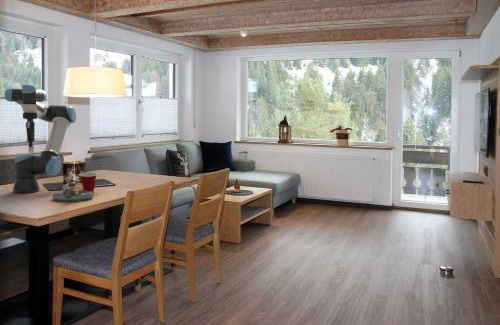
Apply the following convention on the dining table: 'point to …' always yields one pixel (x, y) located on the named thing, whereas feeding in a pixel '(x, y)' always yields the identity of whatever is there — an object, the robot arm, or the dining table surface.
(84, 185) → the plastic cup
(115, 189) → the dining table surface
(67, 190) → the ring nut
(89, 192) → the base plate
